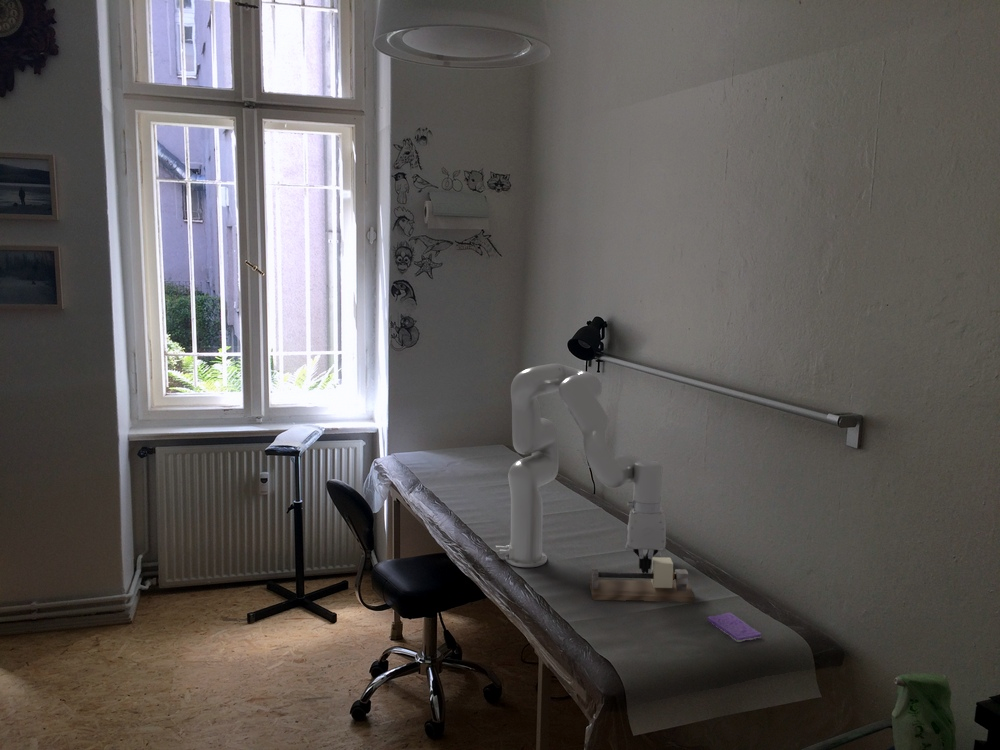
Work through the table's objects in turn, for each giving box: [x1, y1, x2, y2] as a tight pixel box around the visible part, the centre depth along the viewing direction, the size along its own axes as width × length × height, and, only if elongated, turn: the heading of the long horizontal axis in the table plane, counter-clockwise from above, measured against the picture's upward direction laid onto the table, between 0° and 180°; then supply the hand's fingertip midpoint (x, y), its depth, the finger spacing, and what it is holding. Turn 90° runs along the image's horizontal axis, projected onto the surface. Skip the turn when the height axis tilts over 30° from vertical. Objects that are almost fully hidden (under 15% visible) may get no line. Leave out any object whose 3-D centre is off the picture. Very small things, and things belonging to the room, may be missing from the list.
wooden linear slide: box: [589, 568, 695, 603], centre depth 217 cm, size 27×10×6 cm, turn 88°
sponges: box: [707, 612, 762, 640], centre depth 197 cm, size 7×13×2 cm, turn 20°
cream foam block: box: [650, 556, 674, 588], centre depth 217 cm, size 5×5×7 cm
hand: (644, 571), depth 217 cm, fingers closed
